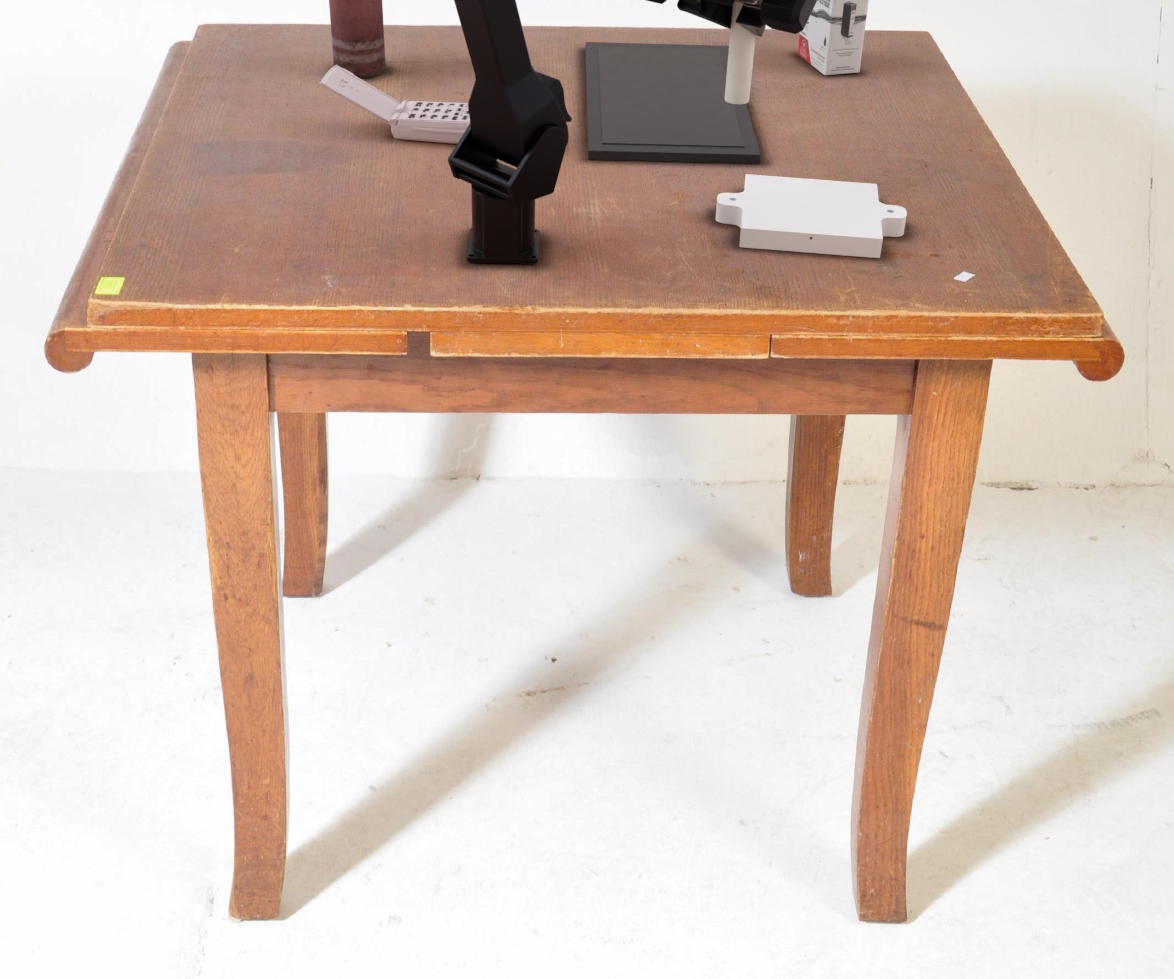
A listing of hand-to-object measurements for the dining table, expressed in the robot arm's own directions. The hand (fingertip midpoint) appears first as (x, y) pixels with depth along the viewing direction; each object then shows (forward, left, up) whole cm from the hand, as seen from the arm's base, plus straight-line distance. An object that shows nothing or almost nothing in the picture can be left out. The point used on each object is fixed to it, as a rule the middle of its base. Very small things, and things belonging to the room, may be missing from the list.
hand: (749, 29), depth 147 cm
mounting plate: (-20, -5, -13) cm, 24 cm away
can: (+21, +43, -13) cm, 50 cm away
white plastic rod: (-1, +1, -7) cm, 7 cm away
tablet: (+13, +7, -12) cm, 20 cm away
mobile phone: (+1, +32, -13) cm, 34 cm away
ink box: (+28, -14, -13) cm, 34 cm away
